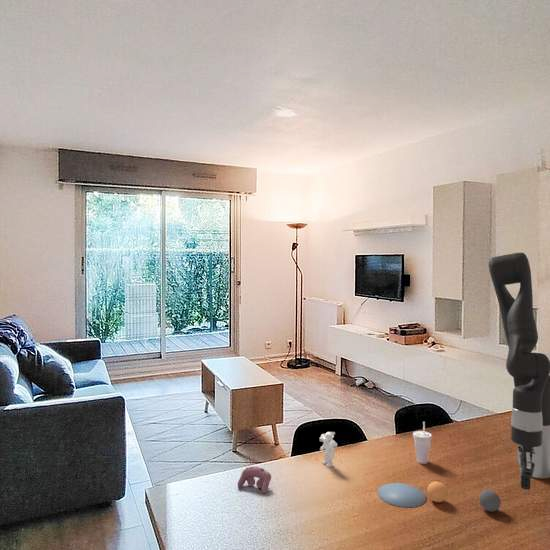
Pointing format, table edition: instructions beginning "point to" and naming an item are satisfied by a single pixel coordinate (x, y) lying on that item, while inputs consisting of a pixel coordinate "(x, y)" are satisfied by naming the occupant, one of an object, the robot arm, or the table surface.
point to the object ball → (437, 491)
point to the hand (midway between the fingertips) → (525, 488)
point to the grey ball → (489, 500)
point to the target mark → (401, 495)
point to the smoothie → (422, 445)
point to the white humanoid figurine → (328, 448)
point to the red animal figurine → (249, 476)
